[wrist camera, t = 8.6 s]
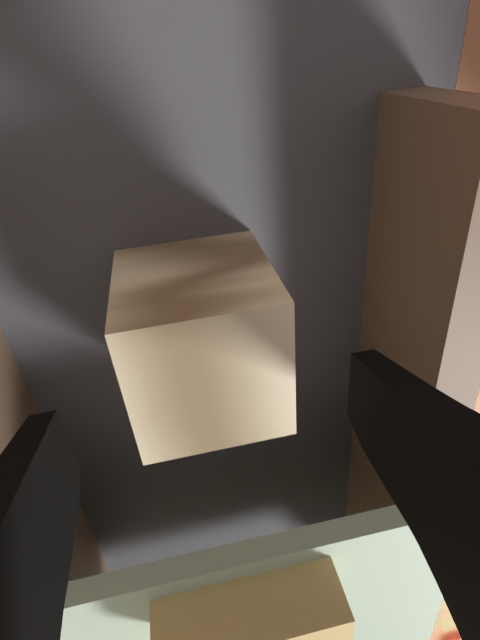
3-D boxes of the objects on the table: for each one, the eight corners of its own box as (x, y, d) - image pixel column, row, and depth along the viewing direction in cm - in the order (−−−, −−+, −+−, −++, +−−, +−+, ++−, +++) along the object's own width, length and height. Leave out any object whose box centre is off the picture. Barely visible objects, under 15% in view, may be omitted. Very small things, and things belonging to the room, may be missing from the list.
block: (250, 230, 15) (294, 302, 11) (258, 339, 17) (296, 433, 13) (114, 250, 14) (104, 334, 10) (141, 360, 17) (143, 465, 12)
